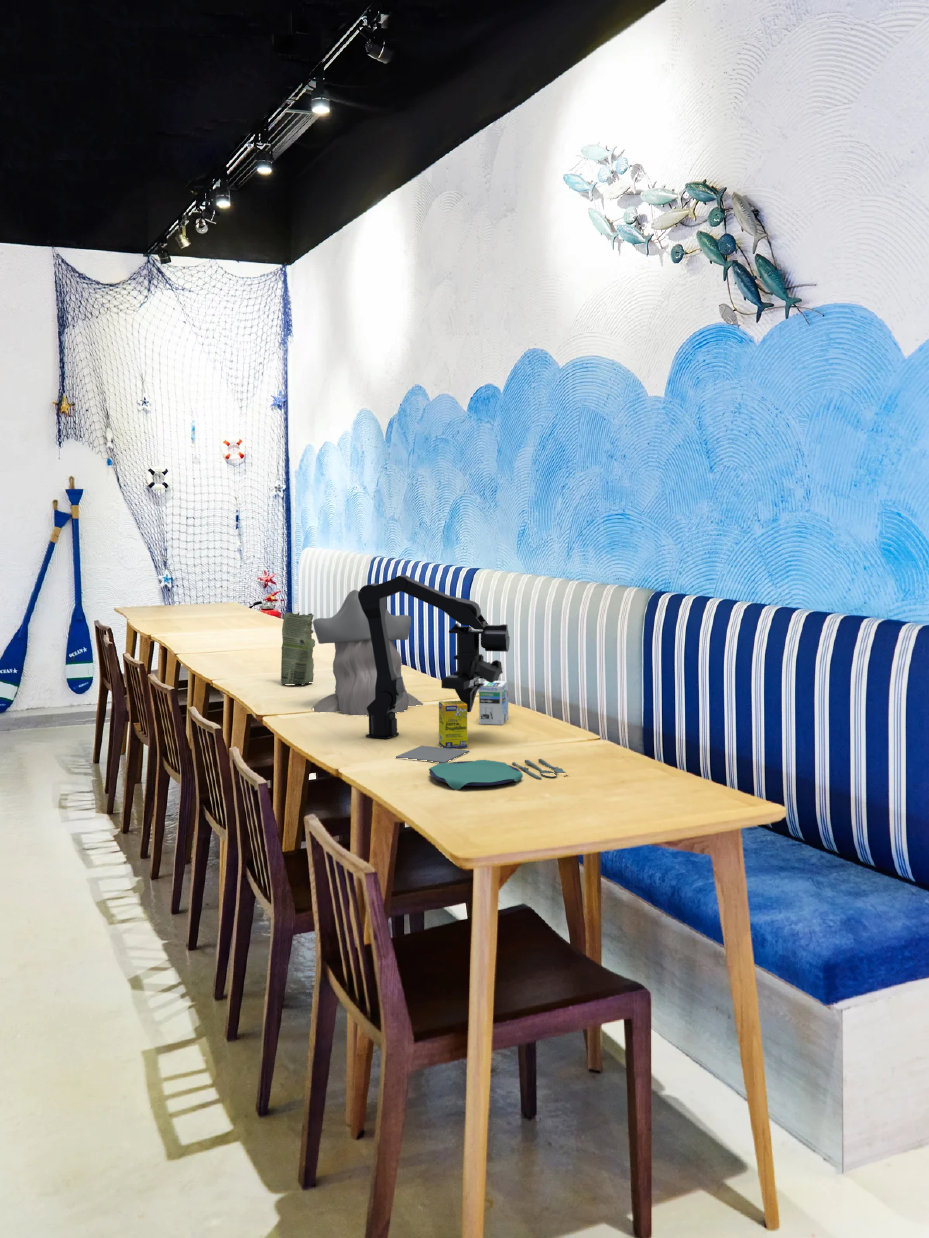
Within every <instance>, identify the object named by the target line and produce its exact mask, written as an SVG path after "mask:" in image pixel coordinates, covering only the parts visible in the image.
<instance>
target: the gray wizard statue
mask: <svg viewBox="0 0 929 1238" xmlns="http://www.w3.org/2000/svg"><path fill="white" fill-rule="evenodd" d="M359 591H360V590H358V589H353V590H351V591H350V592H348V594H347V595H346V597H345V599H344V601H343V603H342V605H341V606H340V608H339V610H338V611H337V612H336V614H334V615H333V616H331V617H327V618H326V617H325V618H323V617H322V618H321V617H320V618H316V619H315V618H314V619H313V620H312V622H313V623H312V626H313V629H314V632H315V635H316V636H315V637H316V638H317V643H318V644H320V645H323V644H334V650H335V653H334V657H333V661H332V673H333V675H334V678H335V684H334V685H335V686H334V687H335V688H334V689H335V690H334V693H332V694H330V695H327V696H325V697H324V698H322V699H320V700H319V701H318V702H317V703H316V704H314V705H313V706H312V708H314V711H313V713H320V712H330V713H341V714H342V713H343V714H342V715H344V714H350V715H349V716H351V715H367V716H366V717H369V714H368V711H367V706H368V705H369V704H370V703H372V702H373V701H374V700H375V684H376V678H377V671H376V665H375V659H374V653H373V647H372V641H371V635H370V629H369V623H368V620H367V618H366V616H365V614H364V612H363V610H362V608H361V605H360V602H359V599H358V593H359ZM385 622H386V628H387V634H388V640H389V646H390V652H391V658H392V664H393V670H394V672H395V674H396V676H397V678H398V677H401V676H402V656H401V654H400V652H399V651H398V650H397V648H396V645H395V643H394V641H407V640H409V637H410V629H411V627H412V626H411V625H412V617H411V616H410V615H408V614H401V615H394V614H391V613H390V612H389V611H388V609H387V608H386V612H385ZM403 687H404V689H405V692H403V698H402V700H401V701H400V702H399V703H398V704H397V705H396V707H395V710H393V711H392V712H395V713H396V714H398V713H397V712H400V713H404V712H405V711H404V710H407V709H409V707H408V706H416V705H421V706H424V705H423V704H424V703H423V702H421V701H419V700H418V698H417V697H415V696H414V695H412V694H410V693H408V691H407V689H406V686H405V683H404V681H403ZM407 711H408V710H407Z"/></svg>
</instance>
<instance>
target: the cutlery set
mask: <svg viewBox="0 0 929 1238" xmlns="http://www.w3.org/2000/svg"><path fill="white" fill-rule="evenodd" d="M524 763H525V764H527V765H529V766H531V767H533V768H535V769H536V770H538V771H539V774H540V775H537V774H536V773H534V772H532V771H530V770H529V769H530V768H529V767H526V766H522V765H520V764H517V763H516V762H515V761H512V763H511V765H510V764H508V763H506V762H503V761H496V760H491V759H489V760H488V759H487V760H486V759H477V760H466V761H465V760H464V761H462V760H459V761H452V762H451V761H450V762H447V763H436V764H435V765H432V766H431V767H429V768H428V770H429V772H428V773H429V775H430V777H432V778H433V779H435V780H437V781H439V782H441V783H442V782H443V783H446V784H448V786H449V787H450V788H452V789H453V790H454V789H459V790H460V789H461V788H462V787H464V786H468V787H471V786H473V787H481V786H483V787H484V786H485V787H486V786H495V785H503V784H506V783H511V782H512V783H513V784H515V783H517V782H518V781H520V780H522V779H523V777H524V775H523V773H527V774H528V775H529V776H530V777H533V778H535V779H537V780H542V779H543V778H542V777H544V776H545V778H549V777H552V778H556V777H557V776H558V774H557V773H567V772H566V771H565V770H564V769H563V768H559V766H554V765H551V764H550V763H548V762H547V761H546V760H544V759H542V758H538V764H541V763H542V764H541V765H543V766H544V765H545V766H544V767H546V768H548V767H549V769H550V768H551V769H550V770H545V769H544V770H543V769H542V768H540V767H539V766H538V765H537V764H535V763H533V762H532V761H531V760H530V759H524ZM514 766H517V767H514ZM520 769H521V770H520ZM522 770H523V772H522ZM552 770H553V771H552ZM554 772H556V773H554ZM541 773H542V774H541ZM550 773H554V774H555V775H556V776H554V775H552V776H551V775H545V774H550ZM541 776H542V777H541Z"/></svg>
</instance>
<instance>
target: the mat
mask: <svg viewBox="0 0 929 1238" xmlns="http://www.w3.org/2000/svg"><path fill="white" fill-rule="evenodd" d="M468 752H469V753H470V750H468V749H461V748H452V749H450V748H443V747H442V746H441V747H439V746H429V745H420V746H418V747H415V748H413V749H410V750H408V751H405V752H403V753H401V754H398V755H396V756H395V757H396V758H395V759H397V758H408V759H417V760H427V761H433V762H439V763H438V764H440V763H446V762H447V763H449V762H450V761H449V760H451V761H453V759H454V758H456V757H458V756H460V757H462V756H464V755H465V754H464V753H466V754H468ZM463 754H464V755H463ZM461 755H462V756H461ZM458 758H459V757H458ZM456 759H457V758H456ZM454 760H455V759H454ZM448 761H449V762H448ZM433 762H432V763H433Z"/></svg>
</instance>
